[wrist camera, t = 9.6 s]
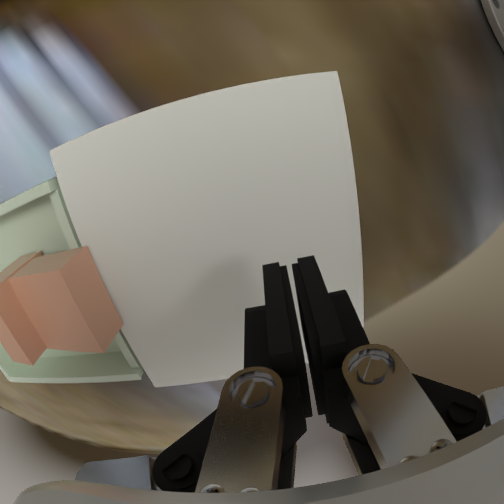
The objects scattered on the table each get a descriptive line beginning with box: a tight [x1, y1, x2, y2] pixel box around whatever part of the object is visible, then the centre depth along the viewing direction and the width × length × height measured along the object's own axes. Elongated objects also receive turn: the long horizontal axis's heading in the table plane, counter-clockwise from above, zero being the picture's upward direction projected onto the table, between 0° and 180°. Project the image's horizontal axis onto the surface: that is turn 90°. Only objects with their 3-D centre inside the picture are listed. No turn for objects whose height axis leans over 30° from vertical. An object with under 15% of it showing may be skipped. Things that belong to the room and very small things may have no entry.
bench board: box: [49, 71, 364, 387], centre depth 16 cm, size 14×16×2 cm
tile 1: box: [0, 251, 47, 366], centre depth 15 cm, size 5×5×2 cm
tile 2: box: [8, 246, 123, 353], centre depth 15 cm, size 5×5×2 cm
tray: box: [0, 177, 144, 383], centre depth 17 cm, size 14×13×3 cm
